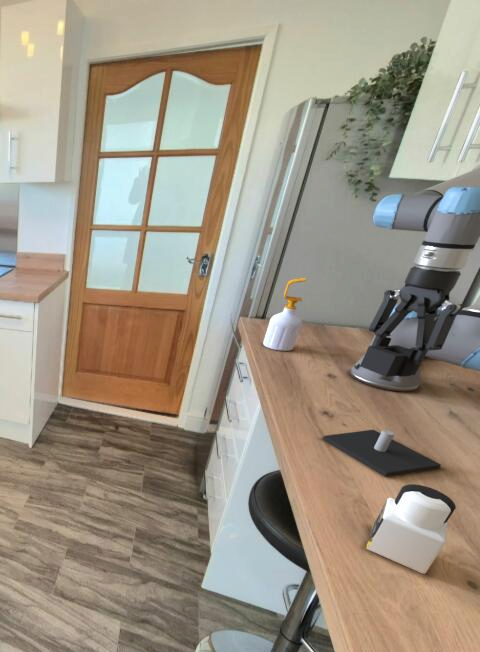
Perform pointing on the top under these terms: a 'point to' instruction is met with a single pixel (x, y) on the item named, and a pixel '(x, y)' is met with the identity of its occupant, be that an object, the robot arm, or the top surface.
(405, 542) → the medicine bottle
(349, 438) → the base pad
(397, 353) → the socket block
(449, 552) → the top surface
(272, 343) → the soap bottle
